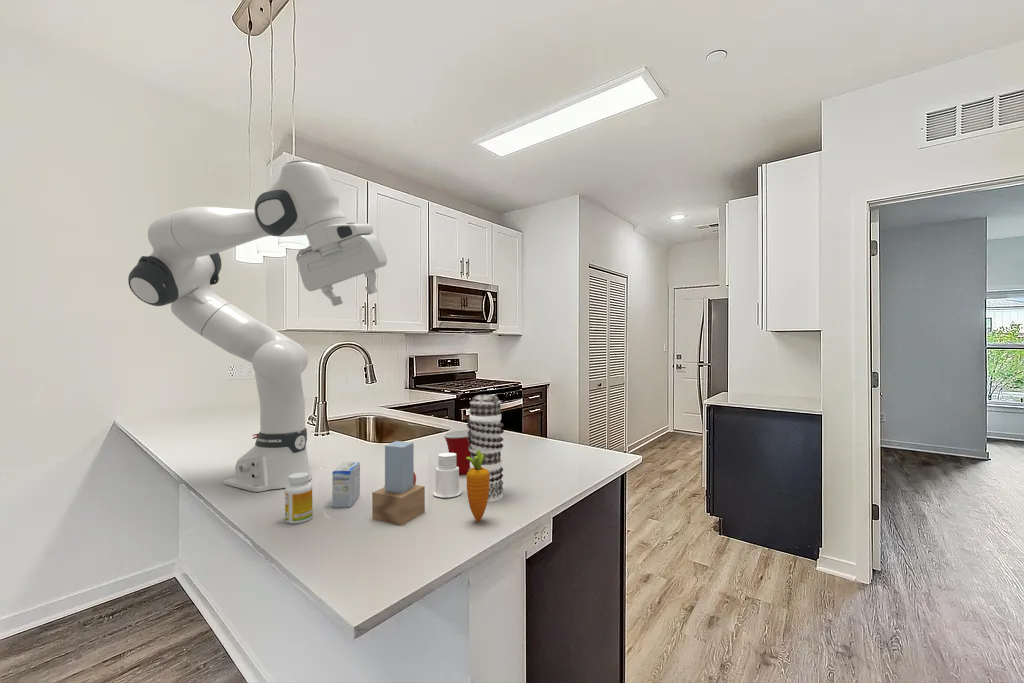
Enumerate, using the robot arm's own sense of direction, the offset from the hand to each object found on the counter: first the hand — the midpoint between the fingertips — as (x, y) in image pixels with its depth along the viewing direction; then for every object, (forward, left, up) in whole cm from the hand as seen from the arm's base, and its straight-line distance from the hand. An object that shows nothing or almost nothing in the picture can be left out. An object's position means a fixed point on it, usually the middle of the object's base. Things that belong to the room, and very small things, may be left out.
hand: (355, 299), depth 97 cm
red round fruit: (+2, +16, -48) cm, 51 cm away
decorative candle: (+22, +21, -48) cm, 57 cm away
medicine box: (-9, +8, -48) cm, 50 cm away
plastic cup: (+8, +38, -48) cm, 62 cm away
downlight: (+12, +20, -48) cm, 53 cm away
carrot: (+26, +6, -48) cm, 55 cm away
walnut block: (+8, +4, -48) cm, 49 cm away
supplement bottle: (-12, -4, -48) cm, 50 cm away
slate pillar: (+8, +4, -42) cm, 43 cm away
